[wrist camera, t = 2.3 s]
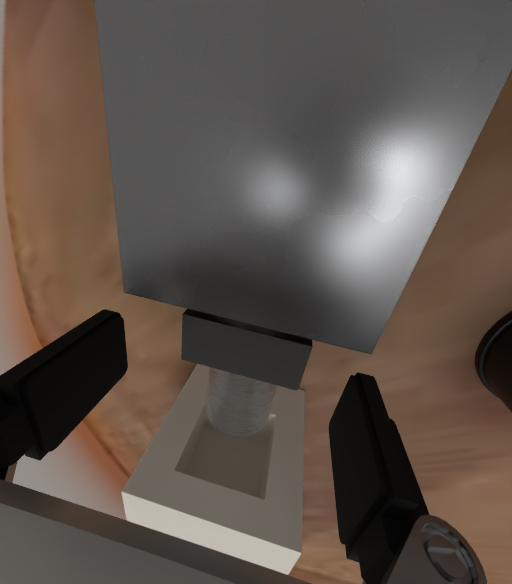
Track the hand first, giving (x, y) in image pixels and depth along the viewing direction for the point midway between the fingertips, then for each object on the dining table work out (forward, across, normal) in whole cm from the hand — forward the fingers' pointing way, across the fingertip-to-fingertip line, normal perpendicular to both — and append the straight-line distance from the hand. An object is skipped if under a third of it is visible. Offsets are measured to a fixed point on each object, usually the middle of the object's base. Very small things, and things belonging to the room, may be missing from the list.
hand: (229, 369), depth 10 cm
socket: (+9, 0, +12) cm, 15 cm away
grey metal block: (+9, 0, -8) cm, 12 cm away
